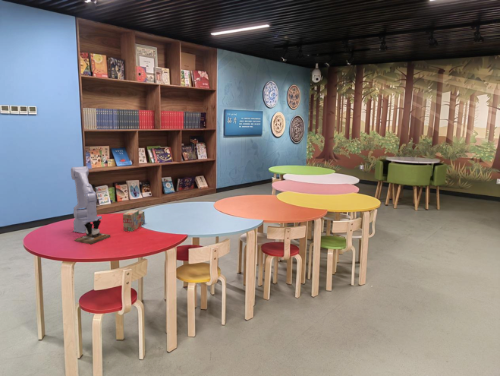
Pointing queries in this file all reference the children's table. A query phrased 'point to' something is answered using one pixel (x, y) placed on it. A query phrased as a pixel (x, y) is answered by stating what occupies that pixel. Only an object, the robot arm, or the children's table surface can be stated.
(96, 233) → the beige box with tabs
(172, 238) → the children's table surface
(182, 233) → the children's table surface
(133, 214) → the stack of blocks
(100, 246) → the children's table surface
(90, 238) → the dock
